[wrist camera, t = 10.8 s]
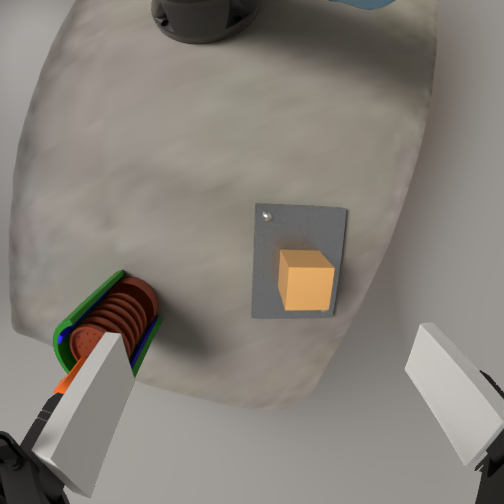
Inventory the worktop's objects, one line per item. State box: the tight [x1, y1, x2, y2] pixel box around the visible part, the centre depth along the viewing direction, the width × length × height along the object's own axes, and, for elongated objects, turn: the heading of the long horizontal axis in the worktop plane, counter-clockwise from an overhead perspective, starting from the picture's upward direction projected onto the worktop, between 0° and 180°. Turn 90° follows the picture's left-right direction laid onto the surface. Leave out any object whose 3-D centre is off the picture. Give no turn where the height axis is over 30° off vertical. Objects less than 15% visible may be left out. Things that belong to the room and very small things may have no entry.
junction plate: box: [251, 203, 346, 318], centre depth 36 cm, size 16×12×6 cm
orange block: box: [278, 250, 335, 310], centre depth 34 cm, size 5×5×7 cm
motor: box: [53, 270, 163, 394], centre depth 30 cm, size 10×9×20 cm
